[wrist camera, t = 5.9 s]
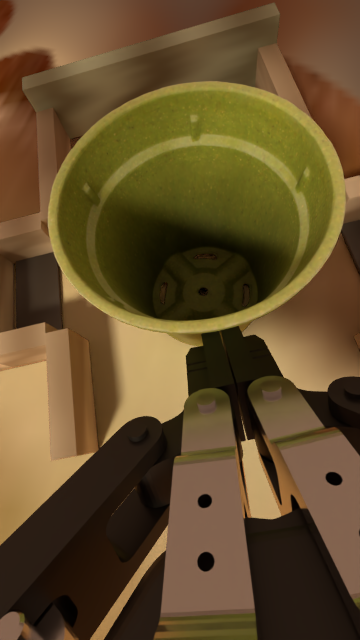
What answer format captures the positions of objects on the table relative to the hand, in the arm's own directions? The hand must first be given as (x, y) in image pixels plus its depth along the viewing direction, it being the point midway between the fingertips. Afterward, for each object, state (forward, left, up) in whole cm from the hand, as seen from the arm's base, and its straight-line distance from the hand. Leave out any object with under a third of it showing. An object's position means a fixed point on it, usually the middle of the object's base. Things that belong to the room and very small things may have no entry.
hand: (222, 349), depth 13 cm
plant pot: (0, +4, -4) cm, 6 cm away
